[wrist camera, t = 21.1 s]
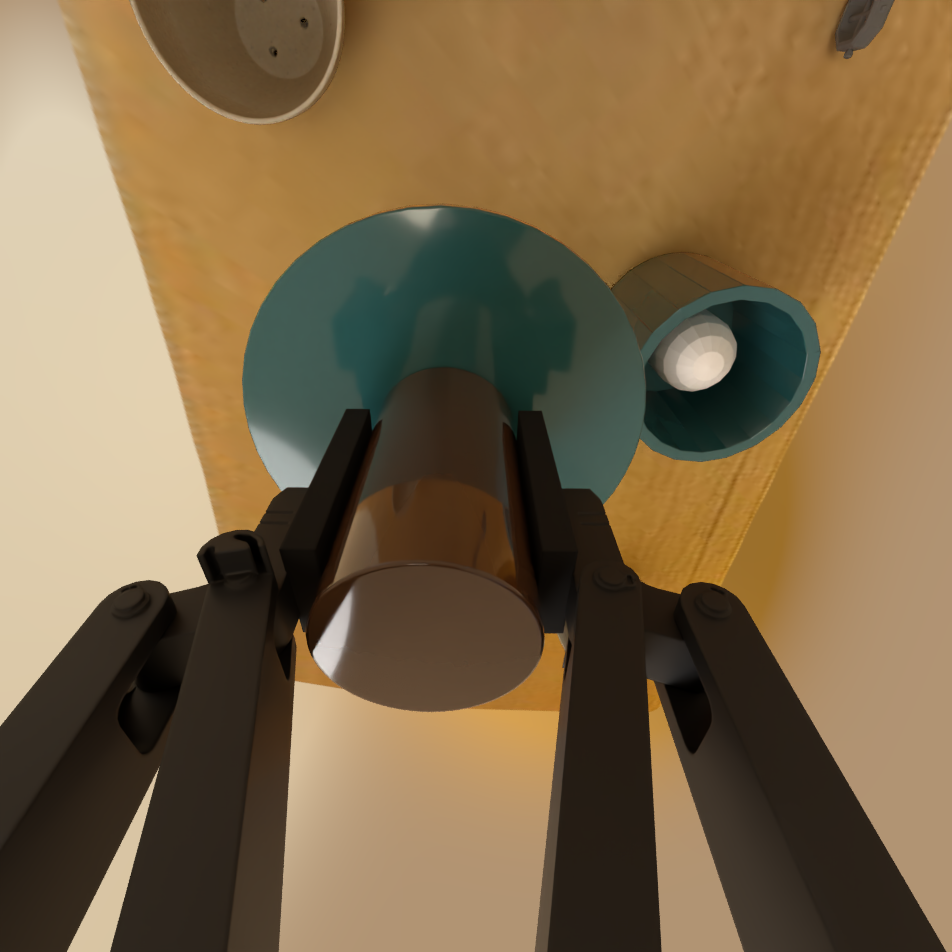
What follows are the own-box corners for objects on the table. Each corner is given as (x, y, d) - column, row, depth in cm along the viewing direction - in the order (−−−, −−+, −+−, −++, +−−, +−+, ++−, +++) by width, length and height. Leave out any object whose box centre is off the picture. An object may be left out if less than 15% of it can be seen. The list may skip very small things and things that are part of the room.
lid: (537, 91, 13) (663, -12, 4) (683, 473, 20) (839, 718, 11) (167, 345, 17) (-148, 551, 8) (398, 590, 24) (357, 838, 15)
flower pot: (391, 104, 31) (371, 94, 25) (246, 146, 32) (194, 147, 26) (329, -133, 25) (285, -218, 19) (156, -70, 26) (65, -132, 20)
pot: (719, 219, 34) (803, 244, 26) (754, 355, 40) (832, 413, 31) (569, 303, 38) (598, 350, 29) (621, 418, 43) (659, 486, 35)
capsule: (708, 345, 39) (757, 385, 32) (643, 371, 40) (677, 416, 34) (696, 282, 36) (745, 312, 30) (626, 313, 38) (659, 348, 31)
